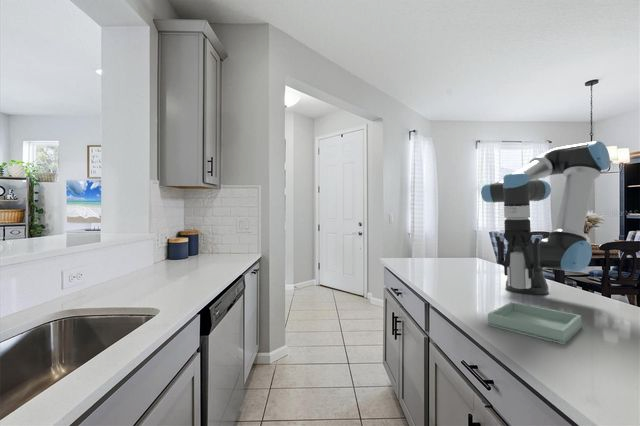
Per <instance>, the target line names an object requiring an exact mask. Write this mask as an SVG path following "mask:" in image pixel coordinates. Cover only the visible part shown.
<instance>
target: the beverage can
mask: <svg viewBox="0 0 640 426" xmlns="http://www.w3.org/2000/svg"><path fill="white" fill-rule="evenodd" d="M509 266H510V271H511V286H512V287H513V288H517V289H525V288H526V282H525V269H526V268H527V264H526V261H525V257H524V254H523V252H512V253H511V254H510V265H509Z"/></svg>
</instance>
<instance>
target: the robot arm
mask: <svg viewBox="0 0 640 426" xmlns="http://www.w3.org/2000/svg"><path fill="white" fill-rule="evenodd" d="M610 163H611V159H610V153H609V151H608V148H607V146H606V145H605V143H604V142H602V141H599V140H596V141H587V142H584V143H577V144H576V143H575V144H571V145H565V146H559V147H554V148H552V149H549V150H546V151H545V152H543V153H540V154H539V155H537V156H535V157H533V158H532V159H531V160H529V162H528V163H527V164H526V165H525V166H523V167H521V168H519V169H518V170H516V171H514V172H513V173H508V174H505V175H504V176H503V178H502V179H501V180H498V181H497V182H494V183H487V184H483V186H482V188H481V189H480V196H481V198H482V200H483V201H484V202H486V203H493V204H494V203H503V212H504V213H503V216H504V222H503V223H504V224H503V225H504V232H503V234H502V235H498V236H495V241H496V242H497V243H496V244H497V264H498V265H501V266H503V270H504V271H503V272H504V274H503V275H504V276H506V277H507V278H506V282H505V289H506V290H508V291H510V292H514V293H519V294H526V295H528V294H529V295H546V294H547V295H548V293H549V284H548V282H547V279H546V277H545V275H544V269H550V270H551V269H552V270H559V271H565V272H573V273H575V272H578V273H579V272H582V271H584V270H585V269H586V268H587V267H588V266H589V264H590V262H591V259H592V256H593V253H592V250H593V249H592V245H591V243H589V242H588V241H587V240H588V238H587V237H586V236H585V235H584V229H585V224H586V220H587V215H588V209H589V207H590V206H589V204H590V202H591V201H590V199H591V196H592V190H593V185H594V180H596V179H598V178H599V177H600V176H601V171H605V170H608V168H610V165H611V164H610ZM562 174H563V176H564V177H565V179H566V180H565V184H564V188H563V191H562V196H561V201H560V206H559V210H558V215H557V219H556V223H555V228H554V229H553V230H552V231H550V232H549V233H548V238H544V237H543V235H542V234H537V235H533V234H532V232H531V231H532V230H531V220H530V217H531V209H530V208H531V207H530V206H531V205H530V202H539V201H543V200H546V199H547V198H548V197H549V196H550V195H551V191H552V187H551V186H550V184H549V183H548V181H545V180H543V179H545V178H547V177H549V176H554V175H562ZM505 240H506V242H507V243H508V244H507V249H506V253H505V244H504V243H505V242H504V241H505ZM512 252H523V254H524V257H525V261H526V264H527V268H526V269H525V282H526V288H525V289H517V288H513V287H512V286H511V271H510V254H511V253H512Z"/></svg>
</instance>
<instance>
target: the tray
mask: <svg viewBox="0 0 640 426" xmlns="http://www.w3.org/2000/svg"><path fill="white" fill-rule="evenodd" d="M487 325H488V326H490V327H494V328H497V329H501V330H506V331H510V332H514V333H518V334H521V335H526V336H528V337H529V336H530V337H532V338H536V339H541V340H545V341H549V342H552V341H553V342H552V343H556V342H557V344H560V345H565V344H566V343H567V342H569V341H570V339H571V338H572V337H573V336H574V335H575V334H576V333H578V331H579V330H580V329H581V328H582V315H580V314H575V313H571V312H565V311H560V310H554V309H550V308H544V307H539V306H536V305H535V306H534V305H533V306H532V305H528V304H523V303H517V302H513V301H510V302H508V303H506V304H504V305H502V306H500V307H499V308H498V307H497V308H496V309H494V310H492V311H490V312H489V313H487Z"/></svg>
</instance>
